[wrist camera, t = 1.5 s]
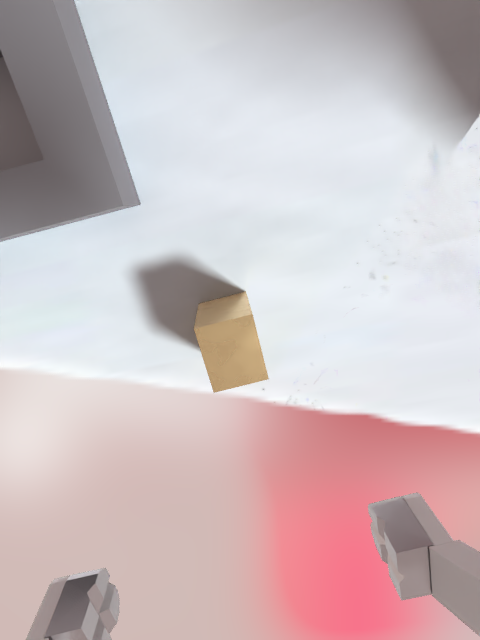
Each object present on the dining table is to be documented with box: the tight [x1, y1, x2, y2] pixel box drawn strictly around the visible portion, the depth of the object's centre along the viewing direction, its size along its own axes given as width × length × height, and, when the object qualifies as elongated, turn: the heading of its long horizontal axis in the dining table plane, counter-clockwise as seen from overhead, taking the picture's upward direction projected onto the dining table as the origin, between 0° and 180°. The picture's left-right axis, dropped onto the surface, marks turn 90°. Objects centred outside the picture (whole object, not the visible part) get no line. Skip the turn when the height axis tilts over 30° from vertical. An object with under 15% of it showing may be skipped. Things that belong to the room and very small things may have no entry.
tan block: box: [194, 292, 268, 392], centre depth 27 cm, size 4×5×6 cm
